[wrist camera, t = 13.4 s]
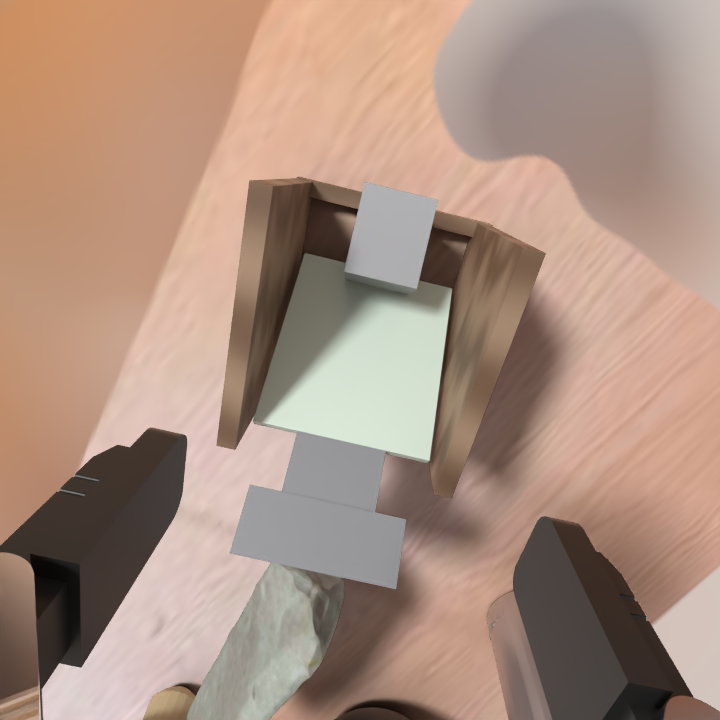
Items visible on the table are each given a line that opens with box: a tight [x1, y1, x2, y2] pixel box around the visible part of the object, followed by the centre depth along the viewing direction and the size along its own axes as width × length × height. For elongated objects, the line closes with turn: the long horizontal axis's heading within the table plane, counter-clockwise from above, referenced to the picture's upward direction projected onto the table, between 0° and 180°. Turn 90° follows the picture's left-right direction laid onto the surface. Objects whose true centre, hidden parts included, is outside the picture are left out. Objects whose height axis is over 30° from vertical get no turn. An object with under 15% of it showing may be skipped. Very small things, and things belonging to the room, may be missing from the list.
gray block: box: [344, 182, 438, 295], centre depth 33 cm, size 5×5×6 cm
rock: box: [187, 562, 344, 720], centre depth 42 cm, size 27×6×20 cm, turn 152°
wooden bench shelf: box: [217, 177, 546, 498], centre depth 32 cm, size 16×15×14 cm
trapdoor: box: [230, 253, 452, 589], centre depth 33 cm, size 22×12×4 cm
